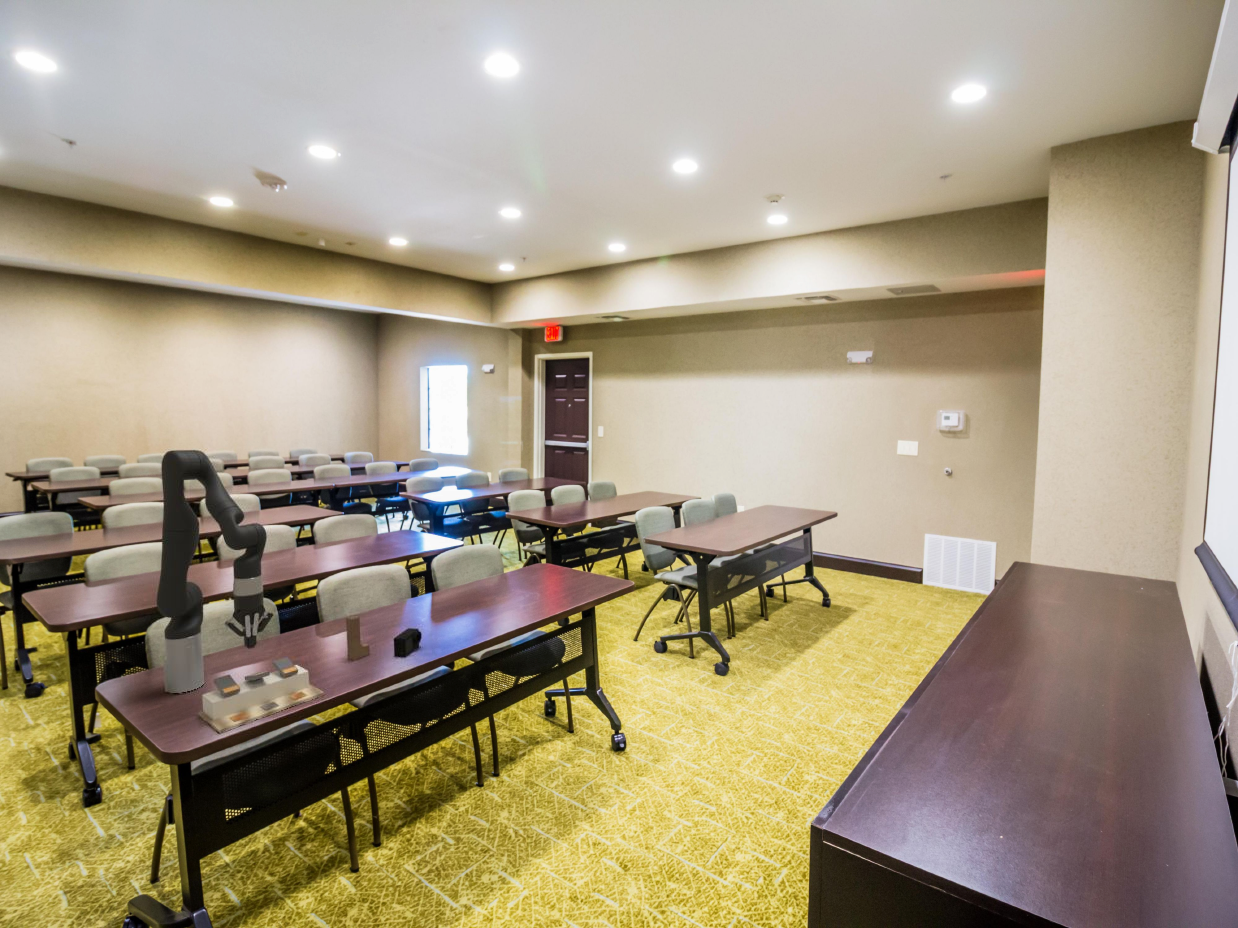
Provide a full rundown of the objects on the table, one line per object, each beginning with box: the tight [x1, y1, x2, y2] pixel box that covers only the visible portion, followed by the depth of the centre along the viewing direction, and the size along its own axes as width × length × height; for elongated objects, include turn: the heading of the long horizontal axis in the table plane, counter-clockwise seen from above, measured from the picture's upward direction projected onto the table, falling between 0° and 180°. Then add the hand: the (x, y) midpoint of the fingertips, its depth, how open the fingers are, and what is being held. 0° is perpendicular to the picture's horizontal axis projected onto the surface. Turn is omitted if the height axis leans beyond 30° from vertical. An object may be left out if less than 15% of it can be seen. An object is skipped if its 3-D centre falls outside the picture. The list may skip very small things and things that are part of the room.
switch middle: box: [244, 670, 271, 681], centre depth 179 cm, size 4×8×1 cm, turn 52°
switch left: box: [213, 673, 240, 697], centre depth 172 cm, size 4×8×1 cm, turn 52°
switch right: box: [272, 656, 298, 677], centre depth 185 cm, size 4×8×1 cm, turn 52°
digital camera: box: [393, 627, 423, 659], centre depth 216 cm, size 10×5×7 cm, turn 171°
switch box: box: [201, 664, 310, 720], centre depth 179 cm, size 26×8×6 cm, turn 142°
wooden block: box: [345, 614, 371, 662], centre depth 212 cm, size 7×3×15 cm, turn 145°
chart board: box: [198, 683, 325, 734], centre depth 177 cm, size 28×16×1 cm, turn 142°
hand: (250, 647), depth 180 cm, fingers closed
